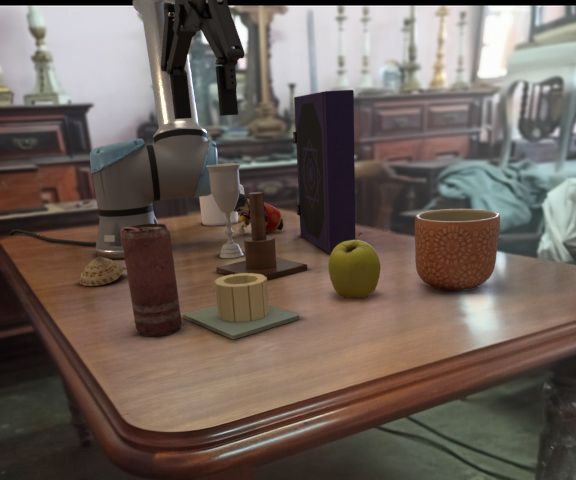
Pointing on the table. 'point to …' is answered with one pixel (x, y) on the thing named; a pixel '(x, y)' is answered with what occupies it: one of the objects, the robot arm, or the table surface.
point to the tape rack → (261, 248)
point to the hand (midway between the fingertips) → (205, 117)
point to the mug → (215, 211)
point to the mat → (239, 329)
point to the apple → (354, 268)
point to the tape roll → (242, 297)
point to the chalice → (226, 200)
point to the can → (151, 278)
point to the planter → (456, 247)
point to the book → (326, 167)
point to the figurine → (271, 215)
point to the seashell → (100, 272)
